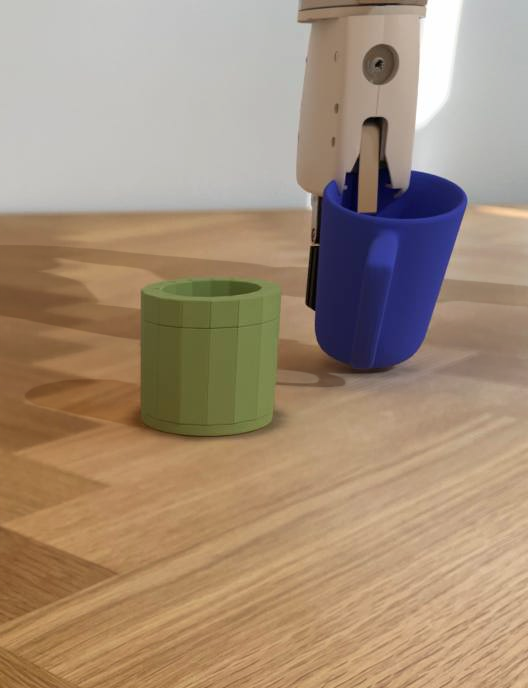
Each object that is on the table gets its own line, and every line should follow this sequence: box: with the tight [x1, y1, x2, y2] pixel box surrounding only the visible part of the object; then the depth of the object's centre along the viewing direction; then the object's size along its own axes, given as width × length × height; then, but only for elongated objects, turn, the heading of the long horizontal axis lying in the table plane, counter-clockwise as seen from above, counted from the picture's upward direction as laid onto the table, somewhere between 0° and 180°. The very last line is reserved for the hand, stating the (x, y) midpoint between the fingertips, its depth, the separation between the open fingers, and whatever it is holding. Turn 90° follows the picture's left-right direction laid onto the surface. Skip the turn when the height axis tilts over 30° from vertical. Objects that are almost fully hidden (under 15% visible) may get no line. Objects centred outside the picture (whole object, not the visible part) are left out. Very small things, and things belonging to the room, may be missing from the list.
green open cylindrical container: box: [139, 276, 283, 437], centre depth 57 cm, size 7×7×7 cm
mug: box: [314, 169, 468, 371], centre depth 63 cm, size 8×12×10 cm
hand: (330, 308), depth 71 cm, fingers closed
